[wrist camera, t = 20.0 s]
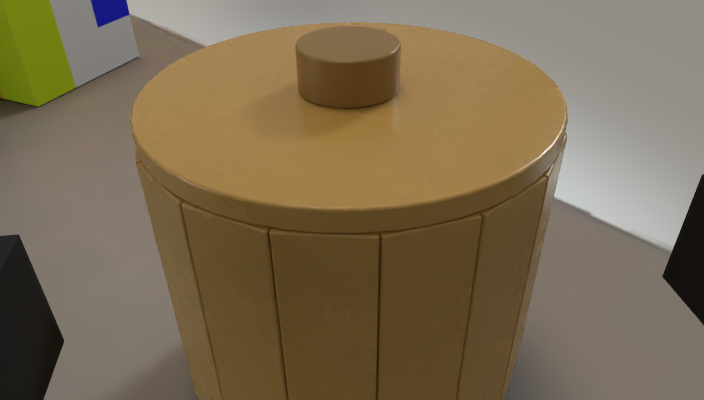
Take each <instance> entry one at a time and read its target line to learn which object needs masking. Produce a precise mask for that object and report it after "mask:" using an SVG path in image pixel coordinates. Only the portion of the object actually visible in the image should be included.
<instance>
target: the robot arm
mask: <svg viewBox="0 0 704 400" xmlns="http://www.w3.org/2000/svg"><path fill="white" fill-rule="evenodd" d="M662 277H663V278H664V279H665V280H666V281H667V283H668V284H669V285H670V286H671V287H672V288H673V290H674V291H675V292H676V293H677V294H678V295H679V297H680V298H681V299H682V300H683V301H684V302H685V304H686V305H687V306H688V307H689V308H690V309H691V311H692V312H693V313H694V314H695V315H696V316H697V318H698V319H699V320H700V321H701V322H702V323H703V325H704V174H703V175H702V176H701V179H700V182H699V184H698V187H697V189H696V192H695V194H694V197H693V199H692V202H691V205H690V207H689V210H688V212H687V215H686V218H685V220H684V222H683V225H682V228H681V230H680V233H679V236H678V238H677V241H676V243H675V245H674V248H673V251H672V253H671V256H670V258H669V261H668V263H667V266H666V269H665V271H664V274H663V276H662ZM63 343H64V339H63V337H62V334H61V332H60V330H59V327H58V325H57V323H56V320H55V318H54V316H53V313H52V311H51V309H50V306H49V304H48V302H47V299H46V297H45V295H44V292H43V290H42V288H41V285H40V283H39V281H38V278H37V276H36V274H35V271H34V269H33V267H32V264H31V262H30V260H29V257H28V255H27V253H26V250H25V248H24V246H23V243H22V241H21V239H20V236H19V235H8V236H0V400H43V399H44V396H45V393H46V391H47V388H48V385H49V382H50V379H51V377H52V374H53V371H54V368H55V365H56V363H57V360H58V357H59V354H60V351H61V349H62V346H63Z"/></svg>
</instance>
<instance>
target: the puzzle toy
mask: <svg viewBox="0 0 704 400" xmlns="http://www.w3.org/2000/svg"><path fill="white" fill-rule="evenodd" d="M137 57H139V54H138V50H137V45H136V41H135V37H134V32H133V28H132V23H131V19H130V15H129V10H128V6H127V2H126V0H0V98H2V99H6V100H11V101H15V102H20V103H24V104H29V105H33V106H38V107H39V106H41V105H43V104H45V103H47V102H49V101H51V100H53V99H55V98H57V97H59V96H61V95H63V94H65V93H67V92H69V91H71V90H73V89H75V88H77V87H79V86H81V85H83V84H85V83H87V82H89V81H91V80H93V79H95V78H97V77H99V76H101V75H103V74H105V73H107V72H109V71H111V70H113V69H115V68H117V67H119V66H121V65H123V64H125V63H127V62H129V61H131V60H133V59H135V58H137Z"/></svg>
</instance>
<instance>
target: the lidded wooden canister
mask: <svg viewBox="0 0 704 400" xmlns="http://www.w3.org/2000/svg"><path fill="white" fill-rule="evenodd" d="M567 121H568V119H567V106H566V103H565V100H564V97H563V95H562V92H561V91H560V90H559V88H558V86H557V85H556V84H555V82H554V81H553V80H552V79H551V78H550V77H549V76H548V75H547V74H546V73H545V72H544V71H542V70H541V69H539V68H538V67H537V66H535V65H534V64H532V63H531V62H530V61H528V60H526V59H524V58H522V57H521V56H519V55H517V54H515V53H513V52H511V51H508V50H506V49H504V48H502V47H499V46H496V45H494V44H491V43H488V42H485V41H482V40H479V39H475V38H472V37H469V36H465V35H461V34H456V33H452V32H448V31H443V30H437V29H431V28H426V27H418V26H410V25H400V24H387V23H364V22H356V23H355V22H350V23H323V24H310V25H299V26H292V27H284V28H278V29H272V30H266V31H261V32H256V33H252V34H248V35H243V36H240V37H236V38H232V39H229V40H226V41H222V42H219V43H216V44H214V45H211V46H208V47H205V48H202V49H200V50H198V51H196V52H193V53H191V54H189V55H187V56H185V57H183V58H181V59H179V60H177V61H176V62H174V63H172V64H170V65H169V66H167V67H166V68H165V69H163V70H162V71H160V72H159V73H157V74H156V75H155V76H154V77H153V78H152V79H151V80H150V81H149V82H148V83H146V85H145V86H144V87H143V89H142V90H141V91H140V93H139V94H138V95H137V98H136V100H135V102H134V104H133V106H132V112H131V118H130V124H131V130H132V135H133V139H134V143H135V147H136V165H137V169H138V173H139V176H140V180H141V184H142V188H143V192H144V196H145V200H146V203H147V207H148V211H149V215H150V219H151V223H152V227H153V230H154V234H155V238H156V242H157V246H158V250H159V253H160V257H161V261H162V265H163V269H164V273H165V277H166V280H167V284H168V288H169V292H170V296H171V300H172V304H173V307H174V311H175V315H176V319H177V323H178V327H179V331H180V334H181V338H182V342H183V346H184V350H185V354H186V358H187V361H188V365H189V369H190V373H191V377H192V381H193V385H194V388H195V392H196V394H197V397H198V399H199V400H503V399H504V396H505V394H506V391H507V388H508V385H509V382H510V379H511V377H512V374H513V371H514V368H515V365H516V361H517V356H518V352H519V348H520V343H521V339H522V334H523V330H524V326H525V321H526V317H527V312H528V308H529V303H530V299H531V295H532V290H533V286H534V281H535V277H536V273H537V268H538V264H539V259H540V255H541V250H542V246H543V242H544V237H545V233H546V228H547V224H548V220H549V215H550V211H551V206H552V202H553V197H554V193H555V189H556V184H557V180H558V175H559V171H560V166H561V162H562V158H563V153H564V149H565V144H566V140H567V134H566V132H565V130H566V125H567Z"/></svg>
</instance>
